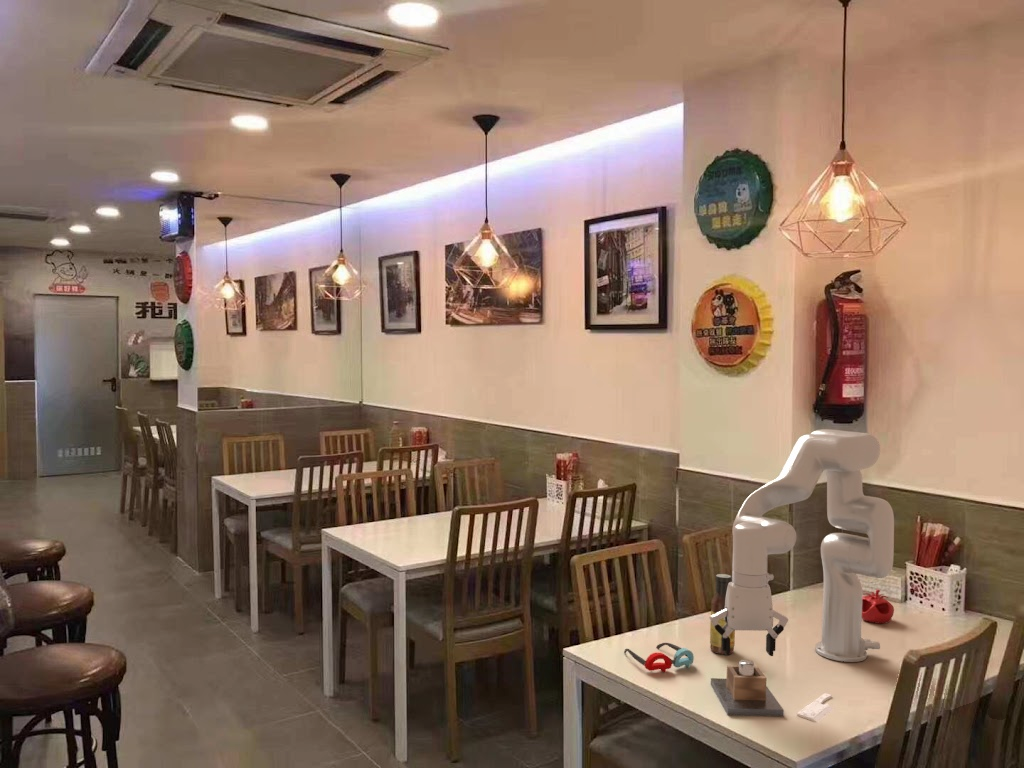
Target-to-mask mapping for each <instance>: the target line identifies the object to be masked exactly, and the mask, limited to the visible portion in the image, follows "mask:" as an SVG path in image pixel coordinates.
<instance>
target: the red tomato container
mask: <svg viewBox="0 0 1024 768" xmlns="http://www.w3.org/2000/svg"><path fill="white" fill-rule="evenodd" d="M880 592H881V590H880V589H875V591H870V592H868V593H867V592H866V593H864V595H863V597H862V620H864V621H865V622H868V621H869V623H874V622H875V624H881V623H882V624H887V623H886V622H888V623H889V622H890V621H891V620H892V618H893V616H894V613H895V607H894V606H893V604H892V603H891V602H889V600H887V599H889V596H886V595H885V593H881V594H879V593H880ZM886 598H887V599H886Z"/></svg>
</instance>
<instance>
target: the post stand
mask: <svg viewBox="0 0 1024 768" xmlns="http://www.w3.org/2000/svg"><path fill="white" fill-rule="evenodd" d="M738 665H739V676H754V666H755V663H754V661H751V660H749V659H748V660H747V659H741V660H739V663H738ZM726 680H727V678H713V677H712V678H711V677H710V686H711V688H712V690H713V691H714V693H715V695H716V697H717V699H718V700H719V702H720V704H721V706H722V708H723V709H724V711H725V713H726V716H741V715H742V716H743V715H744V716H746V717H748V716H749V717H751V716H752V717H781V718H782V717H784V714H785V713H784V712H785V711H784V708H783V707H782V706H781V704H780V702H779V701H778V700H777V698H776V697H775V696H774V695H773V693H772V691H771V690H770V689H769V687H768V686H767V685H766V700H734V699H733V697H732V695H731V694H730V692H729V690H728V688H727V687H726ZM742 716H741V717H742Z"/></svg>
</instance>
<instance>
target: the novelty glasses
mask: <svg viewBox="0 0 1024 768" xmlns="http://www.w3.org/2000/svg"><path fill="white" fill-rule="evenodd" d="M664 646H668V647H669V648H672V649H673V650H675V651H676V652H675V654H674V656H673V659H671V658H670V657H669V656H667V654H664V653H663V652H652V653H651V654H649V656H647V658H646V659H644V658H643V657H640V655H638V654H636V653H635V652H634V651H632V650H631V649H630V648H626V649H624V651H623V653H625V654H626V653H627V652H628V653H629V654H630V656H632V658H634V660H636V661H637V662H638V663H640V664H641V665H642V666H644V668H645V669H646V670H647V671H651V672H652V671H657V670H660V671H662V672H663V673H667V670H669V669H671V668H672V665H673V667H675V668H680V667H683V666H685V667H686V668H691V665H693V664H694V659H695V658H694V657H695V656H694V653H693V652H692V651H691V650H689V649H688V648H685V647H683V648H682V647H681V646H678V645H675V644H673V643H670V642H662V643H659V644H657V645H656V649H658V650H659V649H660V648H662V647H664ZM683 656H685V657H683ZM682 657H683V658H682ZM657 660H663V662H657ZM655 661H656V662H655Z"/></svg>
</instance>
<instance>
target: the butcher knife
mask: <svg viewBox="0 0 1024 768" xmlns="http://www.w3.org/2000/svg"><path fill="white" fill-rule="evenodd" d="M832 696H833V695H832V694H829V693H825V692H824V693H823V694H821V695H820V696H819V697H817V698H816V699H815V700H813V701H812V702H811V703H809V704H807V705H806V706H804V707H803V708H802V709H801V710H799V711H798V712H797V713H796V717H800V718H803V719H805V720H809V721H810V722H814V723H817V724H818V723H819V722H820V721H822V720H823V719H824V718H825V717H826V716H828V715H829V714H830V713H832V712H833V711H834V710H836V708H835V707H833V706H831V705H829V703H825V704H824V702H826V701H827V700H829V699H831V698H833V697H832ZM833 709H834V710H833ZM828 713H829V714H828Z"/></svg>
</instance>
